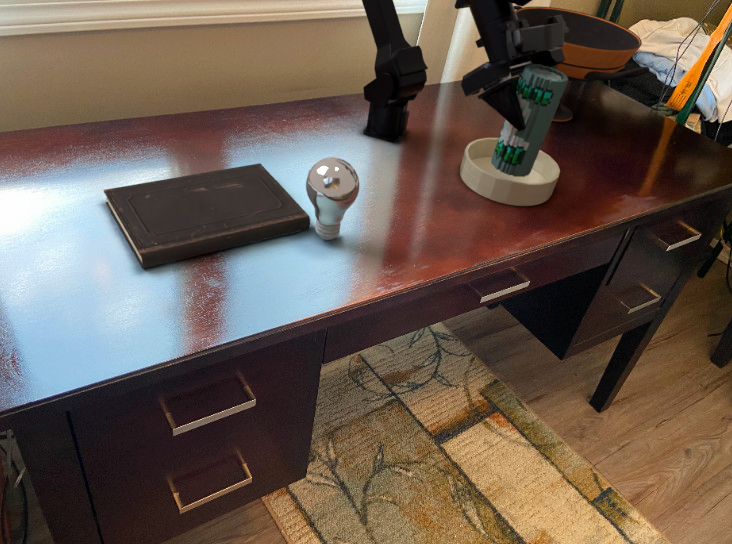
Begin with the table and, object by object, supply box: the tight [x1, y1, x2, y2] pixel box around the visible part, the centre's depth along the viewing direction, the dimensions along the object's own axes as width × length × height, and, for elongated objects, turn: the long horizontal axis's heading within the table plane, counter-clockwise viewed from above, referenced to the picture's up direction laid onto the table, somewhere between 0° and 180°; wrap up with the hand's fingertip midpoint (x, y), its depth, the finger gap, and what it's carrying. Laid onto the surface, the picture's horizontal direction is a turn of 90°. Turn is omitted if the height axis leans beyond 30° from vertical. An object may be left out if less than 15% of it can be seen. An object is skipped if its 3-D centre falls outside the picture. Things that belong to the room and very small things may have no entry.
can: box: [491, 64, 569, 177], centre depth 91 cm, size 6×6×15 cm
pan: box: [459, 137, 561, 207], centre depth 103 cm, size 16×16×4 cm
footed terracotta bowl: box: [513, 5, 651, 122], centre depth 126 cm, size 36×26×18 cm
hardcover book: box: [103, 163, 311, 269], centre depth 83 cm, size 16×23×2 cm
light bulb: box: [305, 156, 360, 241], centre depth 80 cm, size 7×7×12 cm
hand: (534, 125), depth 90 cm, fingers closed on can, 6 cm apart
